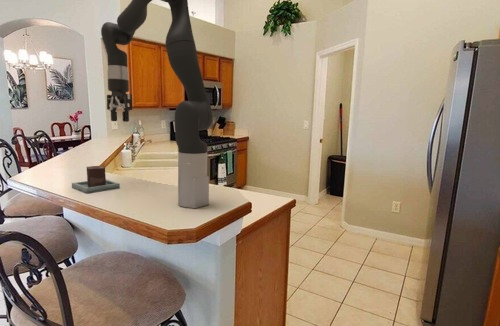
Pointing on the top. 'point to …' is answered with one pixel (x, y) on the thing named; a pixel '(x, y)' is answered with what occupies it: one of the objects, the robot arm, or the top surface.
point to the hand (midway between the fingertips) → (119, 121)
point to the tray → (84, 187)
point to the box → (96, 176)
